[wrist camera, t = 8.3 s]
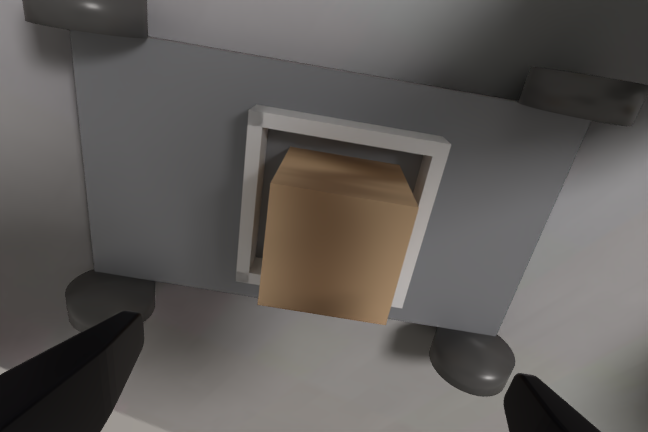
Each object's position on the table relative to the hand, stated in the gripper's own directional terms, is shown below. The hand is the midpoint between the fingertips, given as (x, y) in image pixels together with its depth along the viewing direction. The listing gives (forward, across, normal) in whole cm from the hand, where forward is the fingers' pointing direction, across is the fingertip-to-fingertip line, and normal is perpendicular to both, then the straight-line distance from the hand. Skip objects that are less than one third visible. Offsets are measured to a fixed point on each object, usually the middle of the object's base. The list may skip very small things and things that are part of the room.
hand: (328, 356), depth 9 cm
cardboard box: (+10, 0, 0) cm, 10 cm away
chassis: (+11, +1, 0) cm, 11 cm away
